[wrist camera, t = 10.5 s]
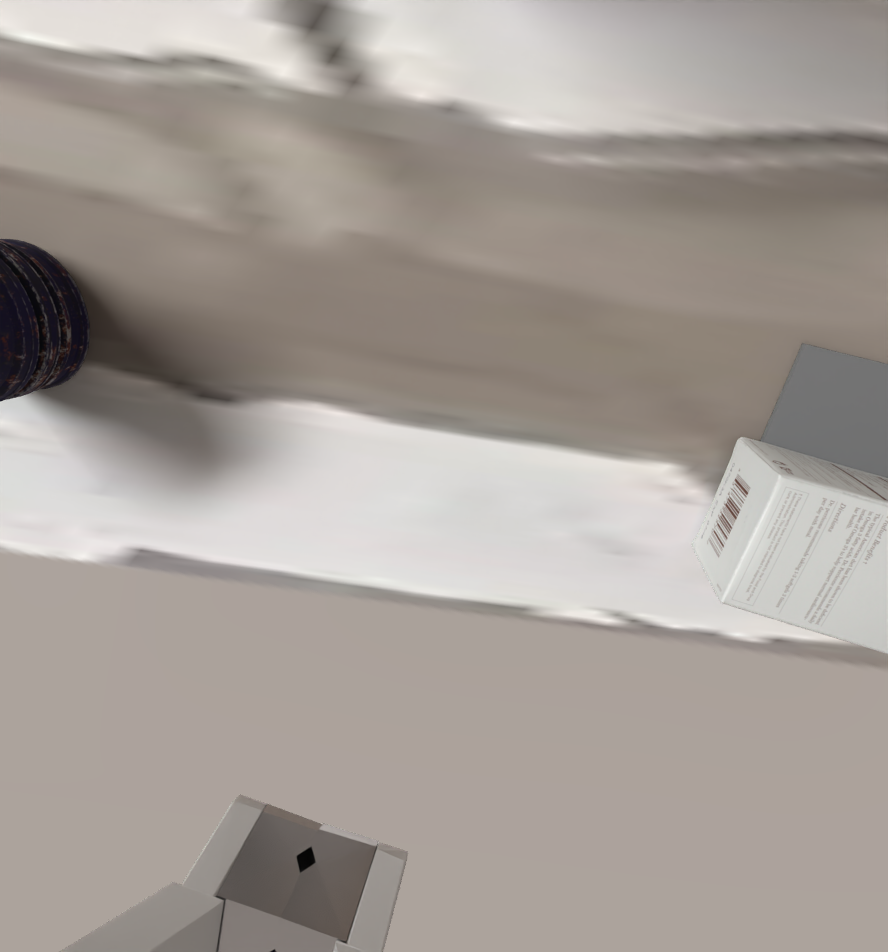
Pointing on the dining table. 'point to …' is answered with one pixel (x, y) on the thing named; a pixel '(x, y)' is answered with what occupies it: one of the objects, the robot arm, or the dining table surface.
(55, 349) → the storage jar
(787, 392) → the mat
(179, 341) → the dining table surface
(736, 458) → the supplement box
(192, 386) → the dining table surface
